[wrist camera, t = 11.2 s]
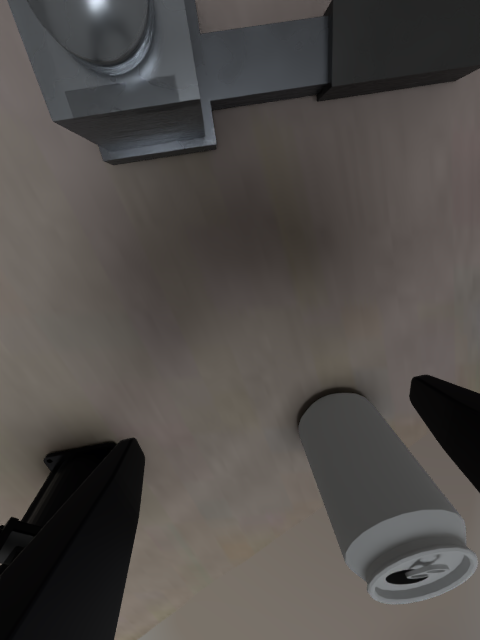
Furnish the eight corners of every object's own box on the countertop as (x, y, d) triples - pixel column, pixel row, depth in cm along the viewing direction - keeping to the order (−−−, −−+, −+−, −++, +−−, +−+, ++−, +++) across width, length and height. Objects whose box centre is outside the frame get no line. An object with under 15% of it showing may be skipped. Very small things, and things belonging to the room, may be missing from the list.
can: (284, 437, 25) (336, 614, 14) (314, 379, 22) (408, 544, 11) (348, 447, 27) (439, 613, 16) (384, 394, 24) (525, 551, 13)
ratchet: (114, 165, 14) (74, 149, 10) (68, 18, 12) (-8, -79, 8) (448, 113, 15) (537, 79, 11) (475, -38, 12) (604, -158, 8)
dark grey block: (110, 151, 13) (32, 110, 7) (68, 15, 11) (-83, -181, 5) (205, 136, 13) (198, 85, 8) (182, -2, 11) (149, -211, 5)
